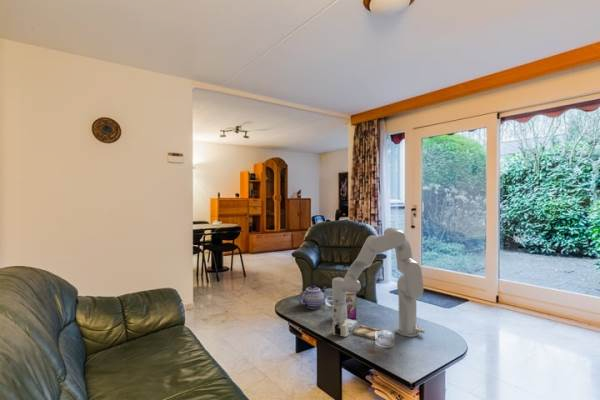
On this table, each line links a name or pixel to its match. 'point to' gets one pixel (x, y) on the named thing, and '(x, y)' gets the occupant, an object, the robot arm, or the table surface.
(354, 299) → the candy bar box
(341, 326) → the stub
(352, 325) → the striped square panel
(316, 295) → the teapot
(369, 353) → the table surface
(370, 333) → the tray
